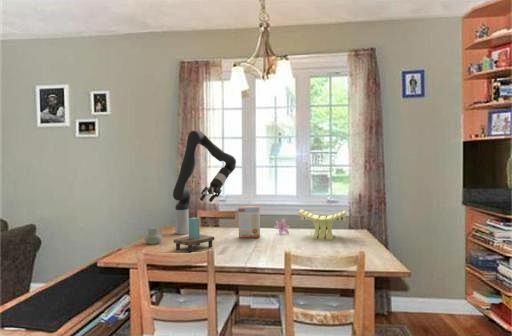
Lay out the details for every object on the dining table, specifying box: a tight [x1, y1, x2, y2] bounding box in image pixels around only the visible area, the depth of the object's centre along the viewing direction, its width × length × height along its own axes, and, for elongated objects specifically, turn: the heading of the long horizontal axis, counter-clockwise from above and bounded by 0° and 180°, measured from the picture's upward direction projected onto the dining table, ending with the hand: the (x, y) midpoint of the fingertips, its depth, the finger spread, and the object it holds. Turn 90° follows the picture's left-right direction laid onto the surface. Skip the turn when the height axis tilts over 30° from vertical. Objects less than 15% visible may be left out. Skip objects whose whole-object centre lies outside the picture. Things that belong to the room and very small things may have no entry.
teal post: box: [188, 217, 201, 239], centre depth 243 cm, size 4×4×12 cm
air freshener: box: [144, 226, 163, 245], centre depth 258 cm, size 11×8×10 cm
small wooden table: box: [173, 233, 215, 253], centre depth 244 cm, size 14×20×6 cm
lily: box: [273, 218, 291, 235], centre depth 286 cm, size 12×12×10 cm
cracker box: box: [237, 205, 261, 239], centre depth 273 cm, size 14×6×21 cm, turn 84°
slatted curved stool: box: [297, 208, 347, 241], centre depth 271 cm, size 30×16×18 cm, turn 75°
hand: (205, 200), depth 256 cm, fingers open, 8 cm apart
